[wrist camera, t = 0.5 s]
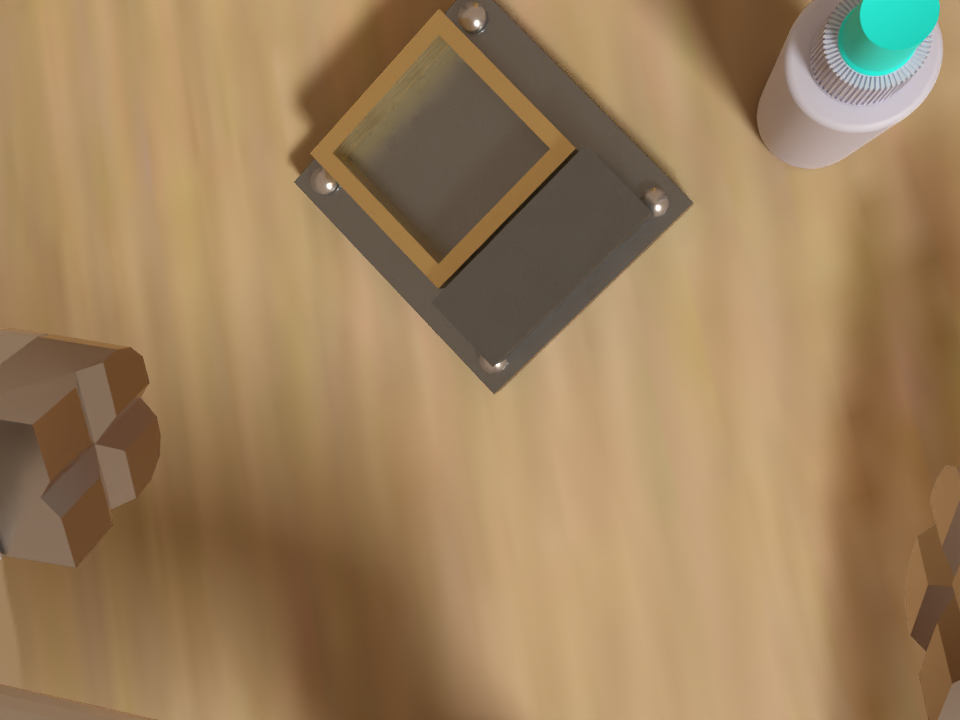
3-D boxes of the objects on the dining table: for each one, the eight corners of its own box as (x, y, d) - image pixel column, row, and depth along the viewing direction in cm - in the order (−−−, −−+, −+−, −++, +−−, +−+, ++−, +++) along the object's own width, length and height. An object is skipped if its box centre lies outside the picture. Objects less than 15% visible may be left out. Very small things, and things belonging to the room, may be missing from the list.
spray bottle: (733, 119, 53) (764, 22, 31) (812, 37, 51) (901, -124, 30) (811, 192, 52) (896, 143, 31) (893, 110, 51) (1042, 0, 29)
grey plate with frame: (500, 389, 57) (479, 404, 52) (307, 184, 59) (265, 176, 53) (692, 204, 54) (693, 198, 48) (481, -10, 55) (457, -42, 49)
